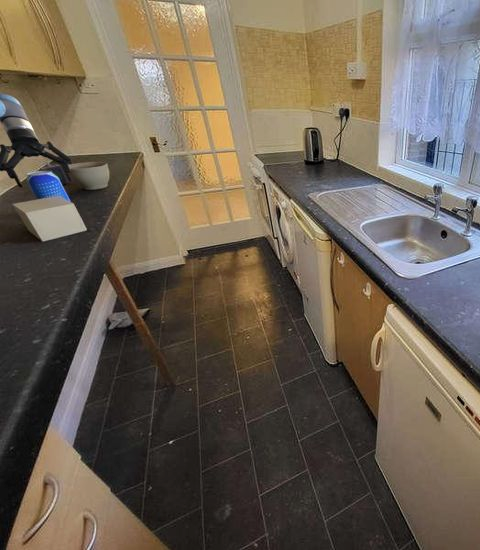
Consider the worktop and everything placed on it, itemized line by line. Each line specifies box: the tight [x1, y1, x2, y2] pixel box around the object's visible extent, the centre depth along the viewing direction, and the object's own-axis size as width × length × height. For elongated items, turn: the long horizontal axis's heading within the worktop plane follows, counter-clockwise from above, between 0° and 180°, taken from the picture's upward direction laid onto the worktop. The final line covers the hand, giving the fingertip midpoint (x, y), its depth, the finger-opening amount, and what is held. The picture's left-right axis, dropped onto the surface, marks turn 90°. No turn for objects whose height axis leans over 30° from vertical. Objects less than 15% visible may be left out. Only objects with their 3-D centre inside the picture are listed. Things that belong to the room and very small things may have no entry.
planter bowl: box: [68, 161, 110, 191], centre depth 145 cm, size 16×16×11 cm
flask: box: [39, 162, 70, 185], centre depth 148 cm, size 9×3×11 cm, turn 173°
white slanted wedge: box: [12, 196, 88, 242], centre depth 99 cm, size 15×12×10 cm
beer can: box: [25, 170, 72, 203], centre depth 110 cm, size 8×8×16 cm
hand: (45, 182), depth 111 cm, fingers open, 13 cm apart
